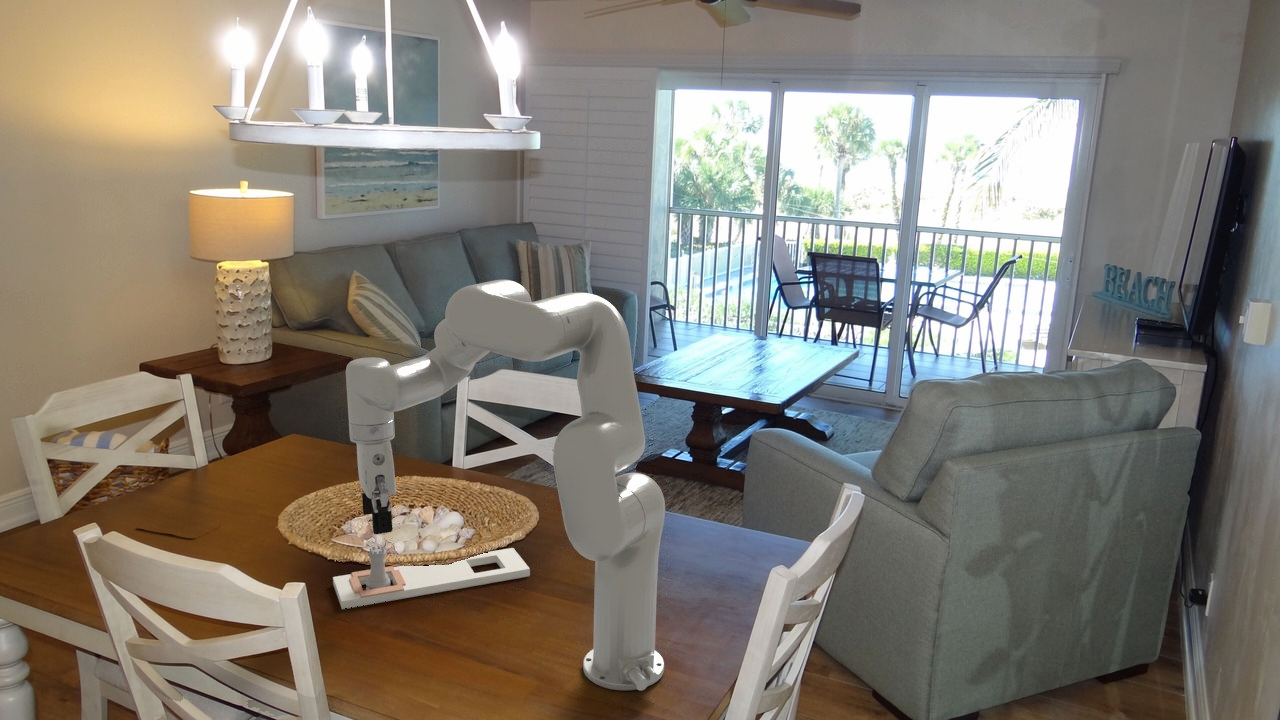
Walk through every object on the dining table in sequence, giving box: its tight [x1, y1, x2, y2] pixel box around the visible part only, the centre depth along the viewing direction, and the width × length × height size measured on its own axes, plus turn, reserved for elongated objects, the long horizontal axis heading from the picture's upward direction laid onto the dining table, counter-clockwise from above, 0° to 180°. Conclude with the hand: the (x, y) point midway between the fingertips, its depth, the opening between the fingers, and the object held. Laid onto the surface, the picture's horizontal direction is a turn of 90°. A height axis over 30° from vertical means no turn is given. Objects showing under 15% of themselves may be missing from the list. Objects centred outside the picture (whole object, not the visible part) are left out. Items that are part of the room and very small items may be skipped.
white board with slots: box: [332, 547, 531, 610], centre depth 179 cm, size 10×34×2 cm, turn 115°
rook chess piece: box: [365, 545, 392, 590], centre depth 174 cm, size 4×4×8 cm
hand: (377, 522), depth 172 cm, fingers open, 9 cm apart
